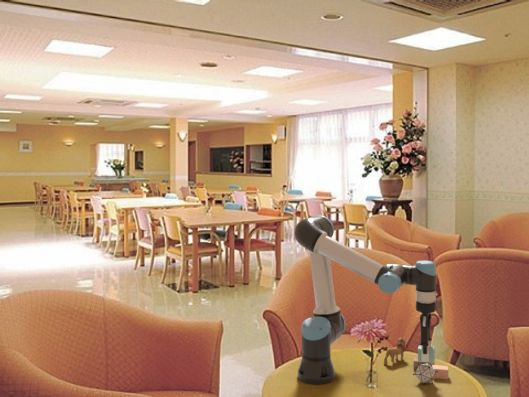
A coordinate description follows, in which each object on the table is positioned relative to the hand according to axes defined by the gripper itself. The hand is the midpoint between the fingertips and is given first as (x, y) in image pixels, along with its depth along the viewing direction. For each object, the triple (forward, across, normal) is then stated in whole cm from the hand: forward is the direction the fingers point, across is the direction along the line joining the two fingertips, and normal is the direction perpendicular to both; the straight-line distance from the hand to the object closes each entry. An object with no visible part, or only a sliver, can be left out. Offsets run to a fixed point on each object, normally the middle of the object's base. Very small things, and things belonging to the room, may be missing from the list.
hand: (425, 358), depth 207 cm
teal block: (0, 0, 0) cm, 1 cm away
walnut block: (+10, +14, +2) cm, 17 cm away
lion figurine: (+10, +18, +15) cm, 25 cm away
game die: (+10, 0, 0) cm, 10 cm away
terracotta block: (+10, +8, -5) cm, 14 cm away
